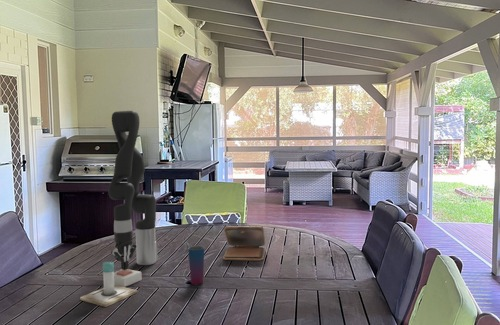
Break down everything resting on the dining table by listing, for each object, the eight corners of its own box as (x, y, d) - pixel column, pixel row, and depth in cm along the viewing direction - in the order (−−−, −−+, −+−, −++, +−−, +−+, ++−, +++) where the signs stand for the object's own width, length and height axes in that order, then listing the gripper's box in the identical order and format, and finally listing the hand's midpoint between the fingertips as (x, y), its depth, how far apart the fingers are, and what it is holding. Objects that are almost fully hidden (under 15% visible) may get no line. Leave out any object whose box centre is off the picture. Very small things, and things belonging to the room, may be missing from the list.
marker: (109, 290, 182) (108, 260, 181) (117, 292, 180) (116, 262, 179) (101, 293, 179) (100, 263, 178) (108, 295, 177) (107, 265, 175)
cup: (190, 286, 190) (189, 250, 188) (187, 280, 196) (187, 246, 195) (206, 284, 191) (205, 249, 190) (203, 278, 198) (202, 245, 196)
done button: (124, 275, 199) (124, 269, 198) (132, 277, 196) (131, 271, 196) (116, 278, 195) (116, 272, 195) (124, 280, 193) (124, 274, 192)
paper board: (112, 286, 190) (112, 283, 190) (137, 292, 183) (136, 289, 183) (80, 299, 176) (80, 296, 176) (105, 307, 169) (105, 303, 169)
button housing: (124, 275, 203) (124, 268, 202) (141, 279, 198) (141, 271, 197) (107, 283, 194) (107, 274, 194) (124, 287, 189) (124, 278, 189)
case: (266, 249, 242) (265, 219, 241) (263, 261, 222) (262, 229, 220) (228, 249, 244) (227, 219, 243) (221, 261, 224) (220, 229, 222)
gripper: (128, 225, 201) (129, 263, 203) (104, 232, 190) (106, 272, 192) (140, 227, 198) (142, 266, 199) (117, 234, 186) (119, 275, 188)
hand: (124, 269), depth 196 cm, fingers closed
